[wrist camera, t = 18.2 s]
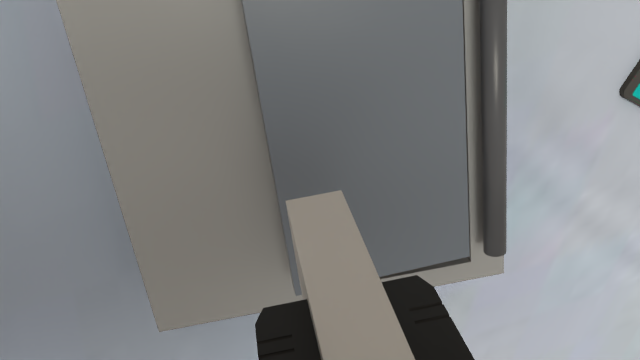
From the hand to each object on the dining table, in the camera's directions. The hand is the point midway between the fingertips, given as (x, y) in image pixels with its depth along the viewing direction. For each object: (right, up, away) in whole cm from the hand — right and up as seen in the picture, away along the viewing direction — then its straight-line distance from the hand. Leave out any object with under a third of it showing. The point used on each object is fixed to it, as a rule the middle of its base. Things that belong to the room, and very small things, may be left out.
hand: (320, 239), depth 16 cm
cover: (+3, +4, +8) cm, 10 cm away
